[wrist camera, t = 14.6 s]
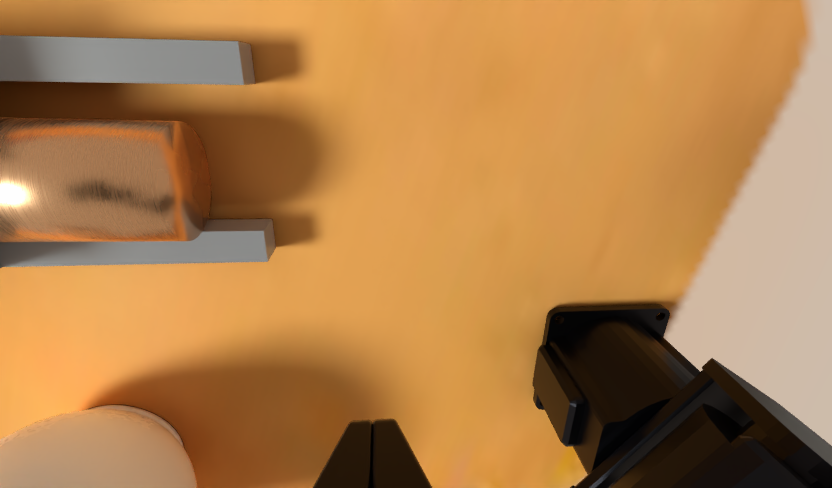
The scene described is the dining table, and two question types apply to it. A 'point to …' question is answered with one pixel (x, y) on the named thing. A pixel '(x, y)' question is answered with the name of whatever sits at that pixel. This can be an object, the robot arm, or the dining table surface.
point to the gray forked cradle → (136, 65)
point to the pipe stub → (101, 180)
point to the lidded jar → (96, 452)
